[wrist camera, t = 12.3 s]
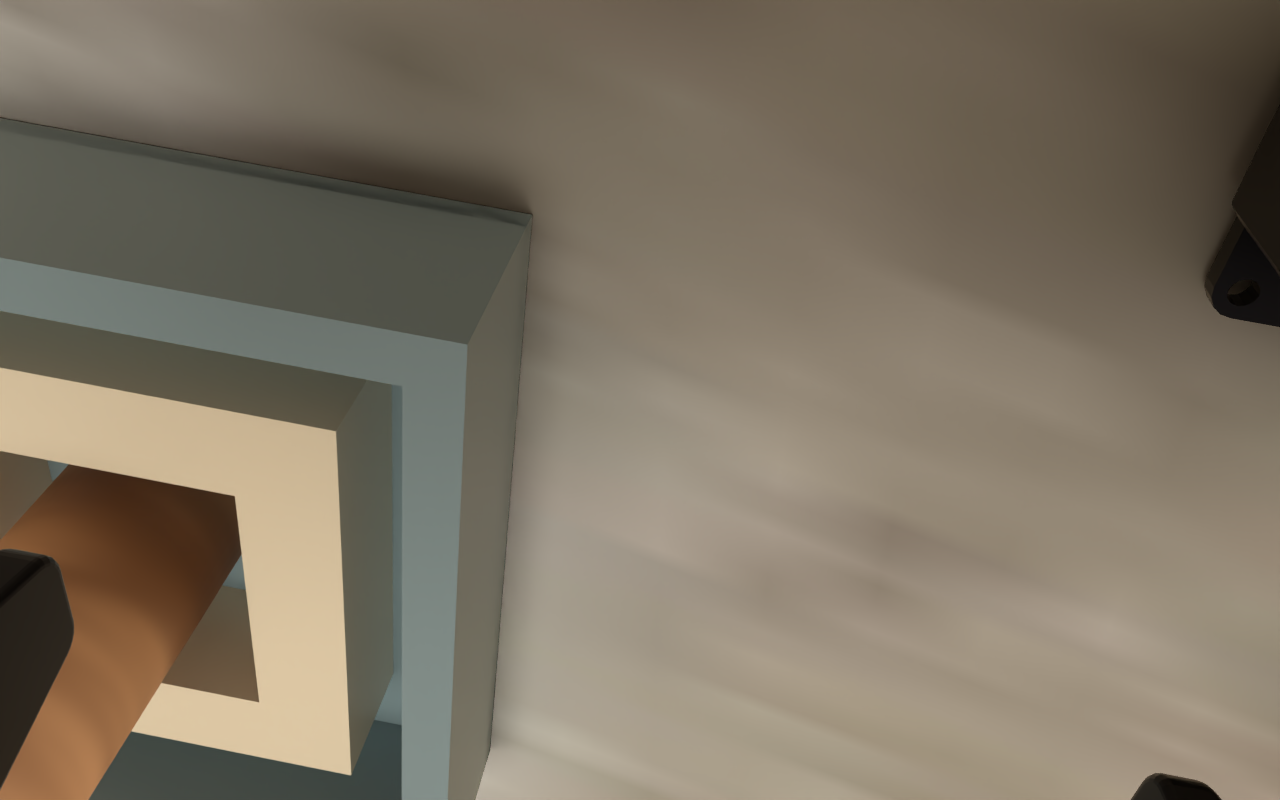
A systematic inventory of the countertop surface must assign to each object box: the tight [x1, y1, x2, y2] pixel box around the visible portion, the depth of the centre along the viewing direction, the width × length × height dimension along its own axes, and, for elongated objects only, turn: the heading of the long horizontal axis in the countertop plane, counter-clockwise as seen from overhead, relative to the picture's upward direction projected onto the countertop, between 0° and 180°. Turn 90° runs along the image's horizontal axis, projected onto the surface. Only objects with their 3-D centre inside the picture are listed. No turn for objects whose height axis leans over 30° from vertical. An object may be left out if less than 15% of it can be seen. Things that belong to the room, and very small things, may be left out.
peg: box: [0, 464, 242, 800], centre depth 21 cm, size 4×4×9 cm
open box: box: [0, 118, 532, 800], centre depth 23 cm, size 15×16×4 cm
